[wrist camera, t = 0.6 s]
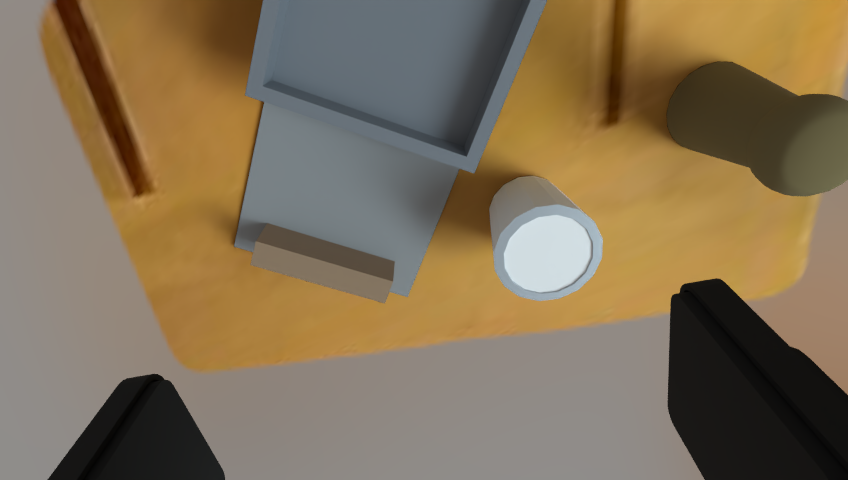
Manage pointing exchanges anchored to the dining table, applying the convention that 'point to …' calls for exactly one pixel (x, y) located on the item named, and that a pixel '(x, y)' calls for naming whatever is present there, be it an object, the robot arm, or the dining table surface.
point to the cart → (395, 68)
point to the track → (339, 206)
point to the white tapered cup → (542, 240)
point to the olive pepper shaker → (763, 128)
